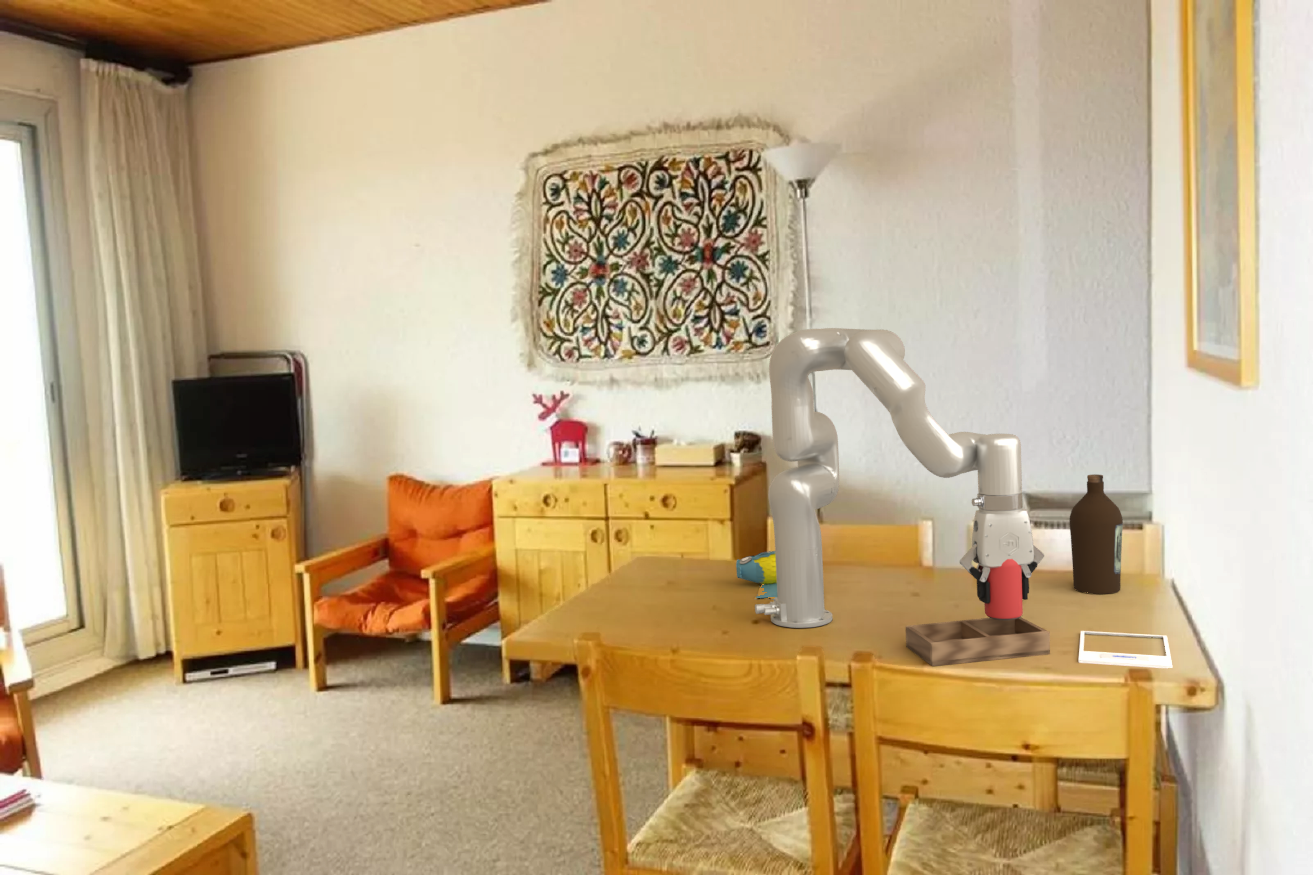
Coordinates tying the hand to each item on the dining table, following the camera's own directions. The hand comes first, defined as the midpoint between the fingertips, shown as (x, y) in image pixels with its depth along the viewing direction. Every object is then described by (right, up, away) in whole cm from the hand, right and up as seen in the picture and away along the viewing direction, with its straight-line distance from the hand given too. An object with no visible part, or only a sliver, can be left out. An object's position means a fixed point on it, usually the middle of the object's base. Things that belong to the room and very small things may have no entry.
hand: (1003, 599), depth 194 cm
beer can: (0, -3, 0) cm, 3 cm away
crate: (-5, -9, 0) cm, 10 cm away
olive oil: (+33, -4, +38) cm, 50 cm away
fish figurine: (-36, -6, +59) cm, 69 cm away
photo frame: (+20, -9, -4) cm, 22 cm away
